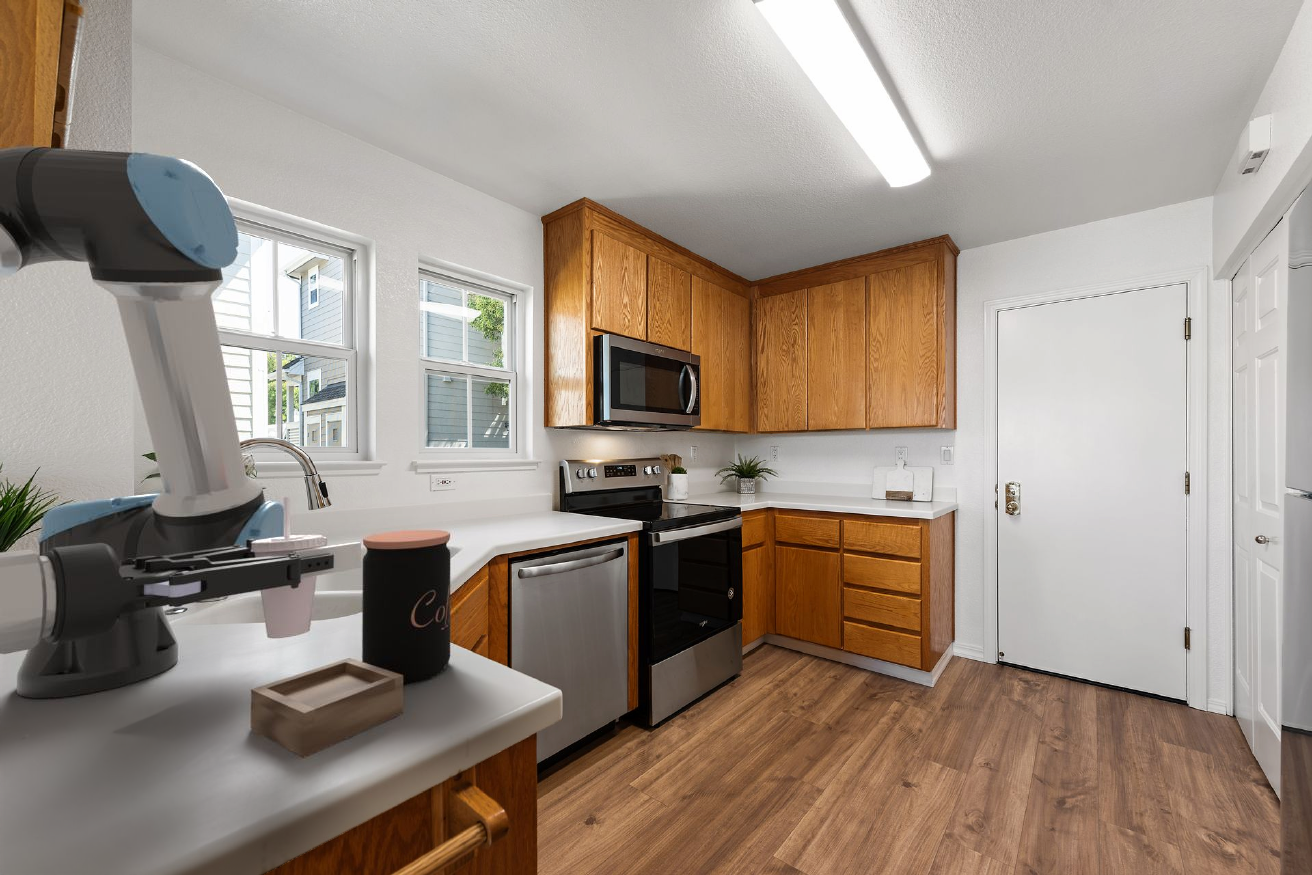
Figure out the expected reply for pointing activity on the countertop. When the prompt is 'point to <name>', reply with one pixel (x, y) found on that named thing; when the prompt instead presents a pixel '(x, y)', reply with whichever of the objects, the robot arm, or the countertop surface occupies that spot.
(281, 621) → the smoothie
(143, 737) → the countertop surface
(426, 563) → the coffee jar
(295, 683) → the wooden tray
